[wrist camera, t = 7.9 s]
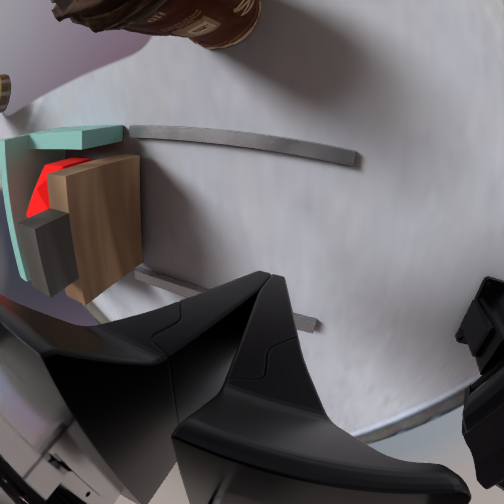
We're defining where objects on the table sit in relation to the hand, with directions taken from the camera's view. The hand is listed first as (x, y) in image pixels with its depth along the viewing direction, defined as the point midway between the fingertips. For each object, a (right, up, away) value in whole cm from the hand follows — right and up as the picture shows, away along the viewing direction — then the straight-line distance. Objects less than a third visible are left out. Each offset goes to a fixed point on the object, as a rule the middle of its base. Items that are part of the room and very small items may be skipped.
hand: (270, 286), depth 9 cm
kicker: (-11, +5, +17) cm, 21 cm away
